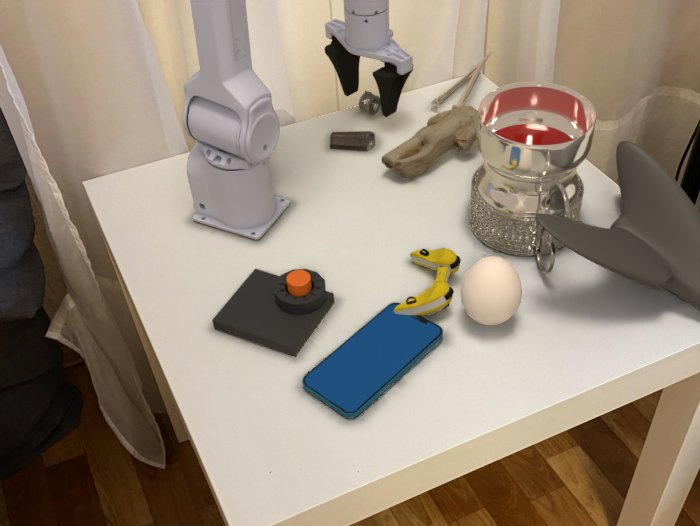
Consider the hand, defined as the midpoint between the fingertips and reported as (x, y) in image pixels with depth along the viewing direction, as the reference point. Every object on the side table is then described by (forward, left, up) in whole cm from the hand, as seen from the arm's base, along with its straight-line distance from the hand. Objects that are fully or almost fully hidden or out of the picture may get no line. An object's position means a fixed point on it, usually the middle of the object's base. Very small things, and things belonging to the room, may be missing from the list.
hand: (370, 103), depth 117 cm
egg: (+29, -32, -2) cm, 43 cm away
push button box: (+8, -41, -2) cm, 41 cm away
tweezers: (+10, +12, +1) cm, 16 cm away
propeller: (+44, -19, +1) cm, 48 cm away
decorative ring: (0, 0, -2) cm, 2 cm away
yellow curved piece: (+22, -31, -2) cm, 38 cm away
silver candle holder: (+29, -16, -2) cm, 33 cm away
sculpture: (+12, -7, -2) cm, 14 cm away
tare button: (+10, -38, +1) cm, 39 cm away
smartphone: (+21, -42, -2) cm, 47 cm away
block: (+1, -8, -2) cm, 8 cm away
